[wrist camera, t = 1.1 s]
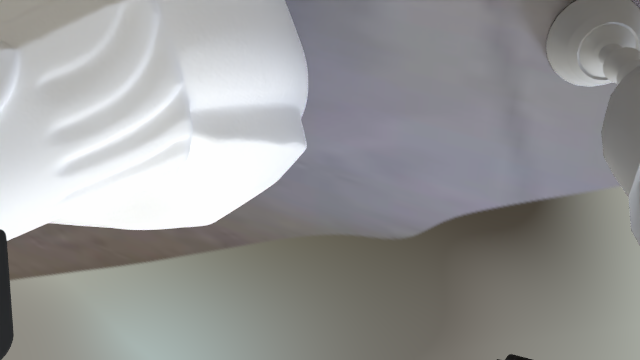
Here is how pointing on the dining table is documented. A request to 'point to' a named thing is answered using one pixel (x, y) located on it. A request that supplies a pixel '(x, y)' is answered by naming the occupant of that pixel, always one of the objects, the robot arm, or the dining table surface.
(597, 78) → the chalice
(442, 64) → the dining table surface
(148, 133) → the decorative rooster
